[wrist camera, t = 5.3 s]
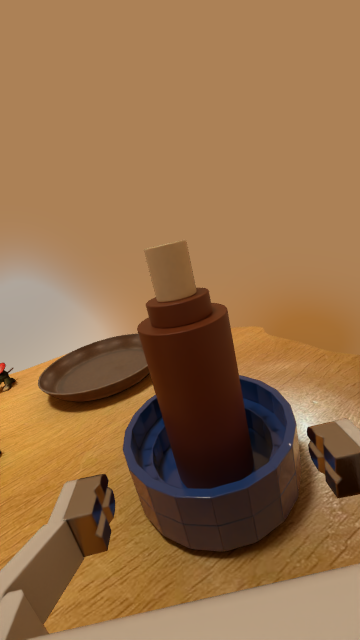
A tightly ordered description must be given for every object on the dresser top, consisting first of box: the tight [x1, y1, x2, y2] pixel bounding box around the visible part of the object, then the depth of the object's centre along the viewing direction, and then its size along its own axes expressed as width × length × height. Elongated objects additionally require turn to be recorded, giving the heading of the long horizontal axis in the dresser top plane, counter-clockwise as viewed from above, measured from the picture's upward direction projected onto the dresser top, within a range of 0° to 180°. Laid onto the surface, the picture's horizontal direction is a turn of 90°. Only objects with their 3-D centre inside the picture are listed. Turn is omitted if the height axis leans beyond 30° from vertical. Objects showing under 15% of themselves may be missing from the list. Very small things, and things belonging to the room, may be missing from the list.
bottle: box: [137, 240, 254, 489], centre depth 19 cm, size 6×6×18 cm
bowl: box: [123, 375, 301, 552], centre depth 21 cm, size 13×13×5 cm
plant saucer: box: [38, 334, 150, 401], centre depth 44 cm, size 21×21×3 cm
